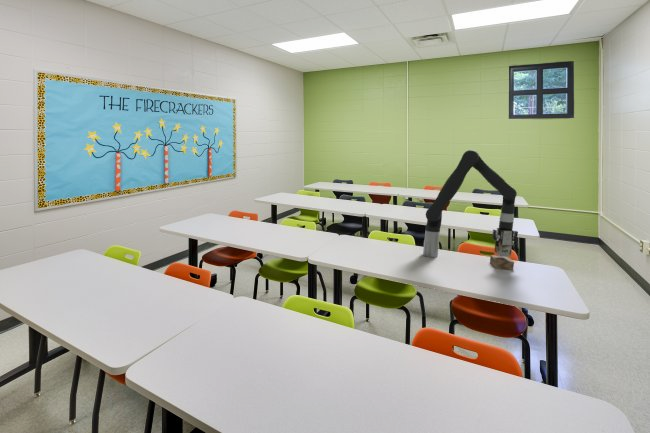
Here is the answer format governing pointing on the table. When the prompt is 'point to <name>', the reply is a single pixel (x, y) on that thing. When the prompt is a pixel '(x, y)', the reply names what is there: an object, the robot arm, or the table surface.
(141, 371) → the table surface
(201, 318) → the table surface
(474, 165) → the robot arm
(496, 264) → the walnut block
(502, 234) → the coffee box
